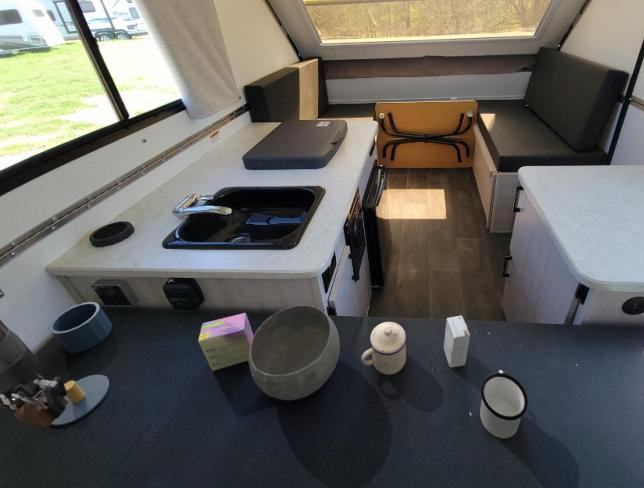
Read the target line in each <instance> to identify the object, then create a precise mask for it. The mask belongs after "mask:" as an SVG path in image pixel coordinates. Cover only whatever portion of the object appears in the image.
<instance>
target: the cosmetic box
mask: <svg viewBox="0 0 644 488" xmlns="http://www.w3.org/2000/svg"><path fill="white" fill-rule="evenodd" d="M469 331H470V330H469V329H468V325H467V323H466V321H465V319H464V317H463V315H457V316H456V315H455V316H450V317H446V323H445V332H444V340H443V341H444V342H443V351H444V354H445V358H446V361H447V364H448V366H449V367H450V368H457V367H462V366H466V361H467V357H468V350H469V345H470V338H471V334H470V332H469Z"/></svg>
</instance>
